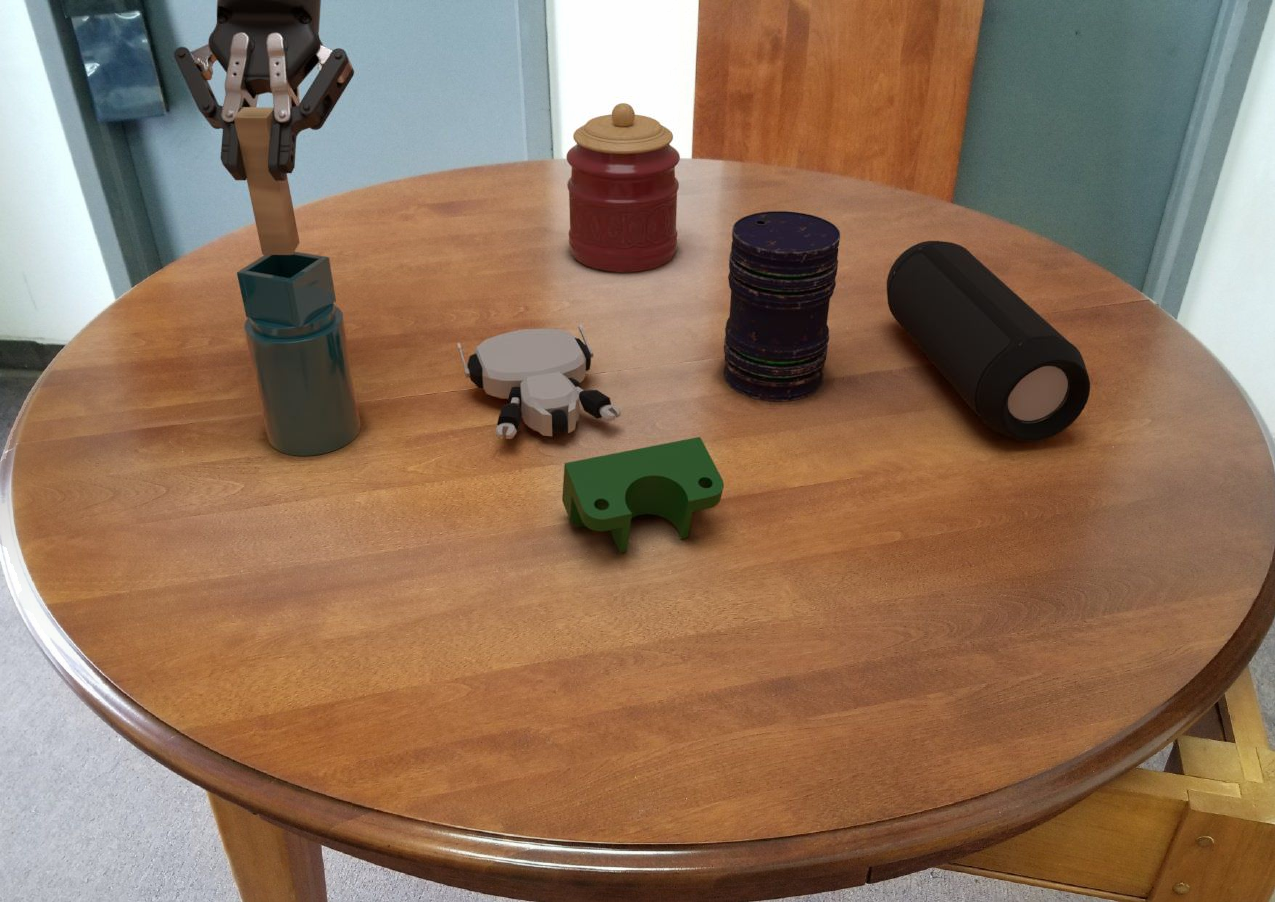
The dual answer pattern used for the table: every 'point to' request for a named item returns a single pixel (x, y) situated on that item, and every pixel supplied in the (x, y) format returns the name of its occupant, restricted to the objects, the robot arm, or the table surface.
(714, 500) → the clamp
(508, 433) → the robot toy
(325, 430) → the bottle
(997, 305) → the portable speaker
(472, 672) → the table surface
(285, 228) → the stick
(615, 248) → the kitchen canister
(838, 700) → the table surface
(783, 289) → the dark blue cylinder
